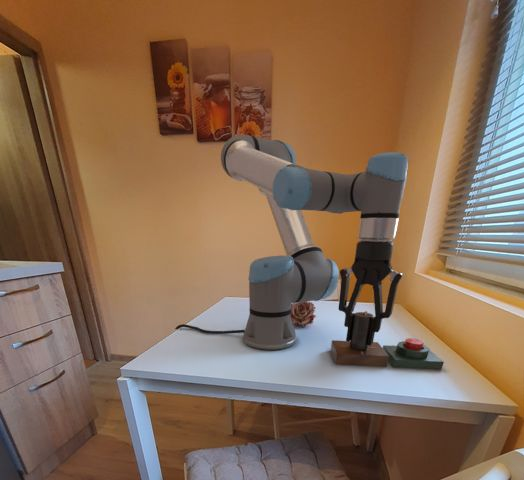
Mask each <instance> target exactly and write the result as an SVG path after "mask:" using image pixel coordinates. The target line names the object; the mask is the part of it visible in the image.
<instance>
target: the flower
mask: <svg viewBox="0 0 524 480" xmlns="http://www.w3.org/2000/svg"><path fill="white" fill-rule="evenodd" d="M315 312H316V306H315V304H314V303H313V301H307V302H298V303H291V319H292V323H293V326H294V325H302V326H303V327H304V328H306V326H307V325H312V324H313V323H314V319H316V317H317V315H315V314H314V313H315Z"/></svg>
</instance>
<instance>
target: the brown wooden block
mask: <svg viewBox="0 0 524 480" xmlns="http://www.w3.org/2000/svg"><path fill="white" fill-rule="evenodd" d="M330 352H331V356H332V359H333V361H334V364H335V366H349V367H350V366H351V367H369V368H370V367H371V368H372V367H373V368H374V367H375V368H387V367H388V363H389V362H388V358H389V356H388V354H387V353H386V352H385V351H384V349H383V346H381V344H380V343H379V342H378V341H373V343H372V344H371V346H369V345H368V349H367V350H365V351H358V350H354V349H351V348H350V341H346V340H335V339H333V340H331V344H330Z"/></svg>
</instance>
